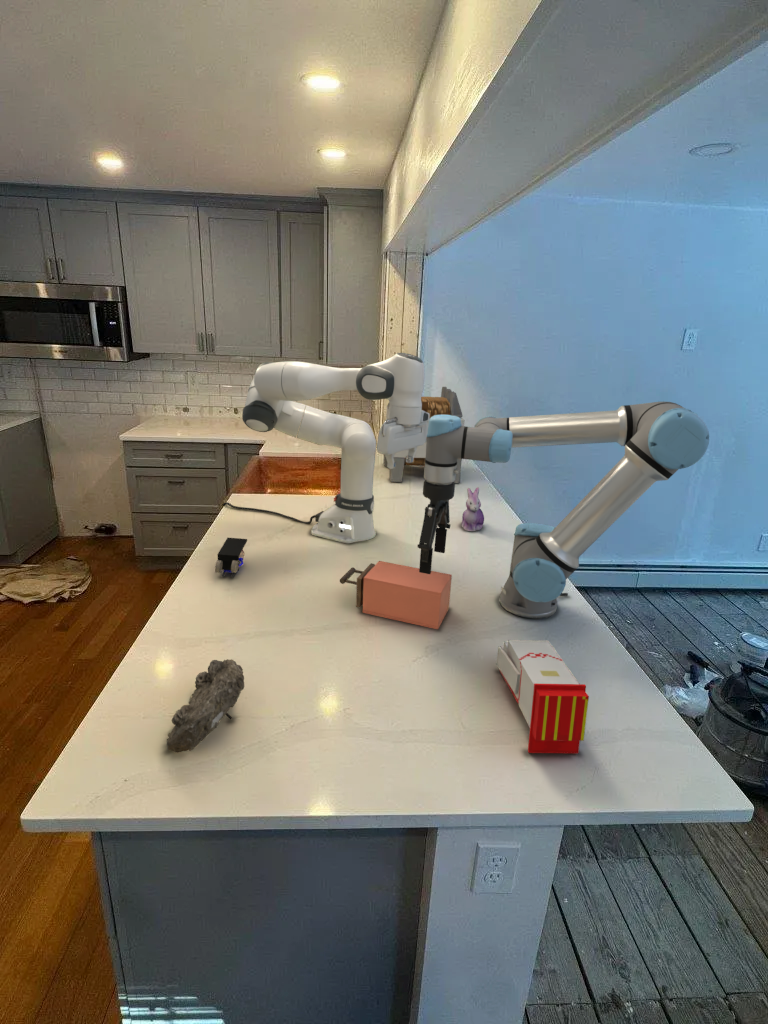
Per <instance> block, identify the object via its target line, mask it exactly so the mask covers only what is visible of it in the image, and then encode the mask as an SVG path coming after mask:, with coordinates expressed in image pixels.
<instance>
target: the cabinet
mask: <svg viewBox="0 0 768 1024" xmlns="http://www.w3.org/2000/svg"><path fill="white" fill-rule="evenodd" d="M419 568H420V567H413V566H409V565H403V564H398V563H393V562H388V561H382V560H378V561H377V562H376V564H375V566H374V567H373V568H372V569H371V570H370V571H369V572H368V573H367V574H366V576H365V577H364V584H363V605H362V613H363V614H367V615H372V616H376V617H380V618H385V619H388V620H389V619H390V620H393V621H397V622H398V621H399V622H403V623H406V624H412V625H416V626H419V627H420V626H421V627H425V628H430V629H434V630H439V628H440V627H441V625H442V623H443V621H444V619H445V617H446V615H447V613H448V611H449V609H450V601H451V599H450V598H451V591H452V579H453V576H452V574H450V573H446V572H440V571H435V570H431V574H426V573H421V572H419Z"/></svg>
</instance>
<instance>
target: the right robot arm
mask: <svg viewBox="0 0 768 1024" xmlns="http://www.w3.org/2000/svg"><path fill="white" fill-rule="evenodd" d="M461 425H462V424H461V419H460V418H459V417H457V416H452V415H434V416H432V417H431V418H430V419H429V424H428V432H427V442H426V459H425V466H424V468H423V469H424V471H423V480H424V481H423V484H422V485H423V486H422V496H423V497H424V498H426V499H428V500H429V503H428V504H427V506H425V508H424V517H423V522H422V526H421V527H422V528H421V531H420V536H419V543H418V544H417V548H418V549H419V550H420V554H419V567H418V568H419V572H421V573H426V574H431V571H432V565H433V564H432V563H433V552H435V553H440V554H445V553H446V545H447V535H448V534H447V532H448V530H449V529H450V528H451V525H452V524H450V523H451V522H450V521H451V519H450V500H452V499H453V498H454V496H455V488H456V483H454V481H455V478H456V474H457V473H458V472H459V471H458V470H457V469H456V467H457V459H458V458H459V459H462V460H471V461H477V462H478V461H479V462H487V463H492V464H496V463H500V464H501V463H503V464H504V463H508V462H509V461H510V460H511V454H512V449H513V448H528V447H529V448H530V447H548V446H549V447H551V446H573V445H591V444H608V443H609V444H610V443H611V444H612V443H617V444H618V445H619V446H621V447H624V455H623V456H622V457H621V458H620V460H618V462H616V464H615V465H613V467H612V468H611V469H610V470H609V471H608V472H607V473H606V474H605V475H604V476H603V477H602V478H601V479H600V480H599V481H598V483H597V484H595V486H594V487H592V488H591V490H590V491H589V492H588V493H587V494H586V495H585V496H584V497H583V498H582V499H581V500H580V501H579V502H578V504H576V506H574V507H573V508H572V510H570V512H569V513H568V514H567V515H566V516H565V517H564V518H563V519H562V520H561V521H560V522H559V523H557V525H556V526H552V525H548V524H545V523H537V522H523V523H520V524H517V526H516V527H515V530H514V533H513V536H514V537H513V546H512V552H511V560H510V568H509V575H508V577H507V579H506V581H505V583H504V585H503V586H501V587H500V588H501V589H500V594H499V604H500V606H501V608H503V609H504V610H505V611H507V612H508V613H510V614H513V615H515V616H518V617H521V618H526V619H546V618H549V617H551V616H553V615H555V613H556V612H557V607H558V599H557V598H559V597H568V596H569V593H567V592H564V590H565V587H566V585H567V580H568V578H570V576H572V574H573V573H574V572H575V571H576V570H577V569H578V568H580V557H581V556H582V555H583V554H584V553H585V552H586V551H587V550H588V549H589V548H590V547H591V546H592V545H593V544H594V543H595V542H596V541H598V540H599V538H600V537H601V536H602V535H604V533H605V532H606V531H607V530H608V529H609V528H610V527H612V526H613V524H615V522H616V521H618V520H619V518H620V517H621V516H622V515H623V514H624V513H625V512H627V511H628V510H629V508H630V507H631V506H632V505H634V504H635V503H636V502H637V500H639V498H641V497H642V496H643V494H645V493H646V492H647V491H648V490H649V489H650V488H651V487H652V486H653V485H654V484H656V482H659V481H661V482H662V481H668V480H669V479H670V478H671V477H672V476H673V475H674V474H676V473H677V472H678V471H679V470H682V469H687V468H690V467H691V466H693V465H695V464H696V463H698V462H699V461H700V460H701V459H702V458H703V457H704V455H705V454H706V452H707V450H708V448H709V444H710V432H709V428H708V426H707V424H706V422H705V421H704V420H703V419H702V417H700V416H699V415H698V413H696V412H694V411H692V410H691V409H689V408H686V407H683V406H682V405H680V404H679V403H676V402H672V401H664V400H663V401H654V402H646V403H636V404H625V405H620V406H619V408H617V409H615V410H601V411H586V412H585V411H584V412H571V413H570V412H569V413H555V414H541V415H540V414H539V415H525V416H524V415H523V416H509V417H496V416H492V415H489V416H484V417H481V418H480V419H479V420H478V421H477V422H476V423H475V424H474V426H465V425H464V426H461ZM433 544H434V548H433Z"/></svg>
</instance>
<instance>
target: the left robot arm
mask: <svg viewBox="0 0 768 1024" xmlns="http://www.w3.org/2000/svg"><path fill="white" fill-rule="evenodd" d="M424 388H425V365H424V362H423V360H422V359H421V358H420V357H419V356H417V355H414V354H412V353H406V352H396V353H395V354H394V355H392V356H390V357H389V358H387V359H384V360H381V361H379V362H374V363H370V364H368V365H365V366H363V367H334V366H327V365H322V364H318V363H317V364H316V363H312V362H306V361H294V360H291V361H290V360H289V361H288V360H287V361H277V362H272V361H267V362H262V363H261V364H259V365H258V367H257V368H256V370H255V372H254V375H253V377H252V379H251V382H250V385H249V387H248V389H247V395H246V398H245V403H244V407H243V409H242V414H241V415H242V417H241V419H242V422H243V423H244V424H245V426H246V427H248V428H249V429H251V430H252V431H255V432H257V433H258V432H259V433H267V432H271V431H273V429H275V430H277V431H278V432H280V433H282V434H285V435H287V436H290V437H292V438H296V439H298V440H301V441H304V442H308V443H311V444H314V445H318V446H328V447H333V448H339V449H341V456H340V459H341V460H340V464H341V465H340V490H339V491H338V492H337V494H336V495H335V496H334V497H333V502H334V504H333V505H331V506H329V507H328V508H326V509H325V510H322V511H320V512H318V513H316V514H314V515H312V516H310V518H309V520H308V521H302V520H300V519H297V518H295V517H292V516H289V515H286V514H283V513H280V512H277V511H274V510H273V511H272V510H269V509H268V510H267V509H262V508H254V507H243V506H236V505H233V504H231V503H229V502H227V501H226V502H223V504H222V506H226V505H227V506H229V507H231V508H233V509H236V510H242V511H244V510H245V511H253V512H260V513H261V512H262V513H266V514H271V515H275V516H280V517H282V518H284V519H288V520H292V521H293V522H297V523H300V524H305V525H310V524H312V522H313V519H314V522H316V523H315V524H314V525H313V526H312V528H311V530H310V533H311V536H315V537H319V538H323V539H326V540H330V541H336V542H339V543H343V544H352V543H357V542H365V541H368V540H372V539H373V538H375V537H376V535H377V532H376V528H375V523H374V513H373V512H374V509H375V496H374V476H375V475H374V474H375V473H374V472H375V463H376V452H377V453H378V454H380V455H384V454H385V457H386V460H387V466H386V467H387V469H389V470H390V469H393V468H395V465H396V462H394V458H393V457H394V456H395V453H397V452H400V451H404V450H407V449H409V452H408V455H407V456H406V462H407V463H411V462H413V460H414V455H415V453H416V451H417V447H418V446H422V445H424V443H425V441H426V437H427V429H428V423H427V421H428V420H429V417H430V414H429V413H427V412H425V411H423V410H422V402H421V397H423V396H422V395H423V393H424ZM340 391H358V393H359V395H360V396H361V397H363V399H366V400H369V401H380V400H388V403H389V414H388V419H386V418H385V420H384V422H383V423H382V424H381V427H380V428H379V431H378V435H377V440H376V437H375V434H374V432H373V429H372V427H371V425H370V424H369V423H368V422H366V421H364V420H362V419H358V418H355V417H350V416H346V415H342V414H338V413H333V412H329V411H325V410H323V409H320V408H316V407H314V406H311V405H307V404H304V403H301V402H302V401H307V400H312V399H317V398H320V397H323V396H326V395H329V394H332V393H336V392H340ZM300 401H301V402H300Z"/></svg>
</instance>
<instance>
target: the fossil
mask: <svg viewBox="0 0 768 1024" xmlns="http://www.w3.org/2000/svg"><path fill="white" fill-rule="evenodd" d="M243 670H244V669H243V667H242V665H240V664H237V662H236V661H235V660H234V659H232V658H231V659H227V658H226V659H224V660H223V661H222V660H217V659H212V660H211V661H210V663H209V665H208V666H207V671H201V672H199V673H198V674H197V675H196V676H195V680H194V684H195V685H194V687H195V689H194V690H193V693H192V694H191V697H190V698H189V700H188V704H184V705H182V706H181V707H180V709H177V710H176V711H175V713H174V715H173V716H172V718H171V723H172V724H173V727H172V730H171V731H170V732H168V734H167V738H166V741H167V742H166V745H167V749H168V750H169V751H173V752H174V753H176V754H178V753H182V752H188V751H189V752H192V751H193V750H195V748H196V747H197V746H199V744H200V743H201V742H203V741H204V740H205V739H206V738H207V737H208V736H209V735H210V734H211V733H212V732H214V730H215V729H217V727H218V726H219V724H220V722H221V721H222V720H223V719H224V718H225V716H226V717H227V719H229V720H233V717H232V715H230V714H229V710H230V709H231V708H234V706H235V704H236V703H237V702H238V699H239V697H240V695H241V693H242V691H243V690H245V689H244V688H245V675H244V671H243Z"/></svg>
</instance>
